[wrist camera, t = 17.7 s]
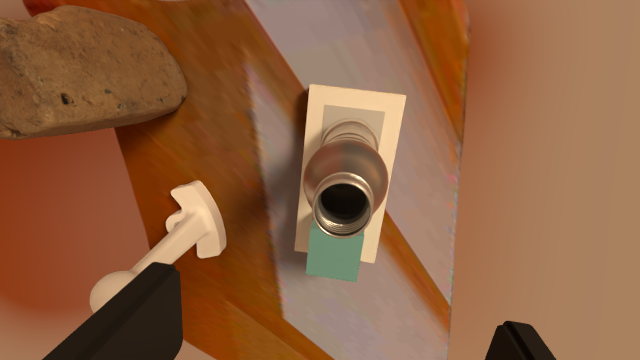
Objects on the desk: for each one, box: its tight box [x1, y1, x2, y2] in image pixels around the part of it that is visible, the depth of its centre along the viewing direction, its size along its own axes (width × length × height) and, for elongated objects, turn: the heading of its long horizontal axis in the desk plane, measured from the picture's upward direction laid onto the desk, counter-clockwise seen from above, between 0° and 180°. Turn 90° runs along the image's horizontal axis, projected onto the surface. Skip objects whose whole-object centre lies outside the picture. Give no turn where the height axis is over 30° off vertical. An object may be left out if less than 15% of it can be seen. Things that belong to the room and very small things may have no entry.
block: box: [0, 5, 187, 140], centre depth 31 cm, size 11×8×20 cm
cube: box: [306, 219, 364, 282], centre depth 38 cm, size 6×6×6 cm
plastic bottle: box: [303, 118, 389, 239], centre depth 27 cm, size 6×7×20 cm
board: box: [294, 84, 406, 263], centre depth 40 cm, size 22×11×3 cm, turn 174°
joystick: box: [90, 181, 226, 313], centre depth 37 cm, size 11×8×20 cm
